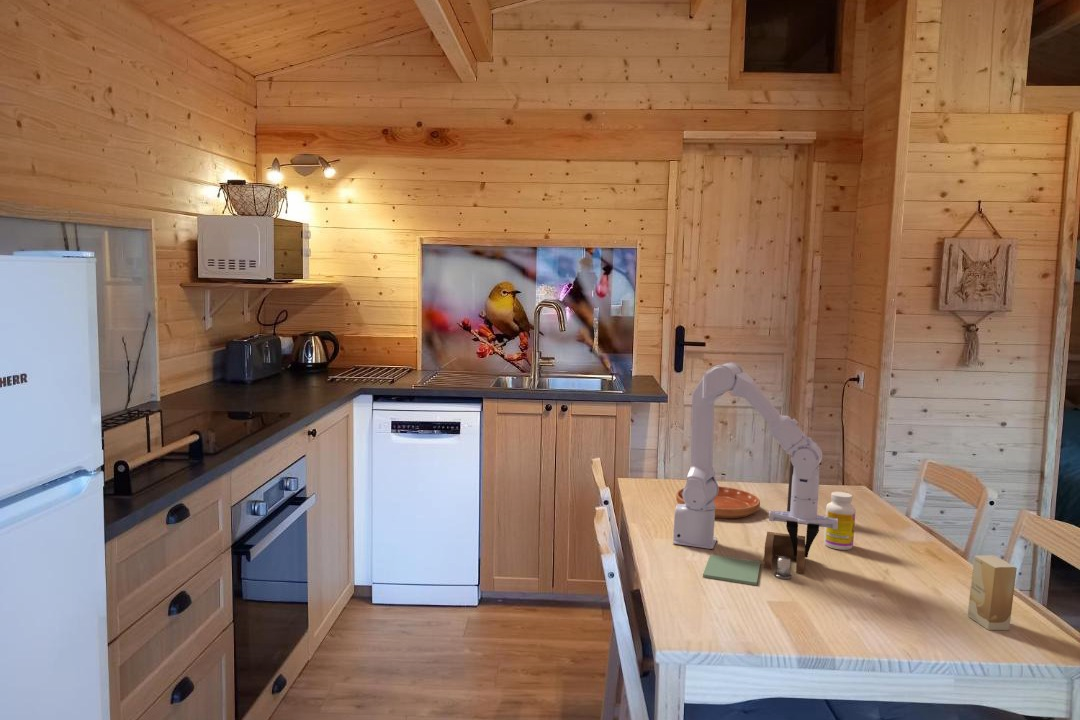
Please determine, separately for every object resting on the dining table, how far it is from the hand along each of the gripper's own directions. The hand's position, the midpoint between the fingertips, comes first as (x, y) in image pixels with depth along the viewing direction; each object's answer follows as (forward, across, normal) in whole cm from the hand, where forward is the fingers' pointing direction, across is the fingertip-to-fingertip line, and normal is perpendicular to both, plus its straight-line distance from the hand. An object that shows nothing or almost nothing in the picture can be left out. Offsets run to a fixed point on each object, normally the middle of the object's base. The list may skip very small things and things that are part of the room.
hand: (800, 555), depth 169 cm
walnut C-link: (+2, -3, -2) cm, 4 cm away
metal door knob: (+2, -3, -10) cm, 11 cm away
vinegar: (+2, 0, +38) cm, 38 cm away
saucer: (+2, -22, +36) cm, 42 cm away
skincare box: (+2, +34, -19) cm, 39 cm away
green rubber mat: (+2, -14, -12) cm, 18 cm away
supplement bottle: (+2, +9, +16) cm, 18 cm away
